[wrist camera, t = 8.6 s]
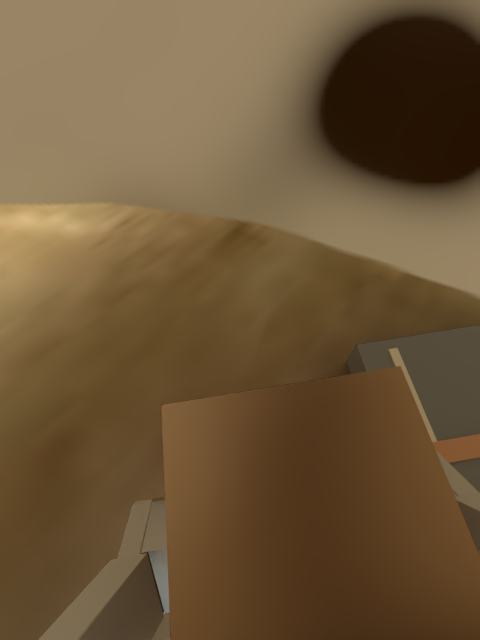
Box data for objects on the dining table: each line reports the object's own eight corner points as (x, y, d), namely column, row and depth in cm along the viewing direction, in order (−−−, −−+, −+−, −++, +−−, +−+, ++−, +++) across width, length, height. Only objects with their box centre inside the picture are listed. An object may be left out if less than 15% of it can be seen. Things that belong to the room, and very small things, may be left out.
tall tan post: (224, 616, 11) (176, 782, 4) (208, 458, 14) (161, 404, 7) (369, 588, 12) (541, 705, 5) (327, 438, 14) (400, 365, 7)
